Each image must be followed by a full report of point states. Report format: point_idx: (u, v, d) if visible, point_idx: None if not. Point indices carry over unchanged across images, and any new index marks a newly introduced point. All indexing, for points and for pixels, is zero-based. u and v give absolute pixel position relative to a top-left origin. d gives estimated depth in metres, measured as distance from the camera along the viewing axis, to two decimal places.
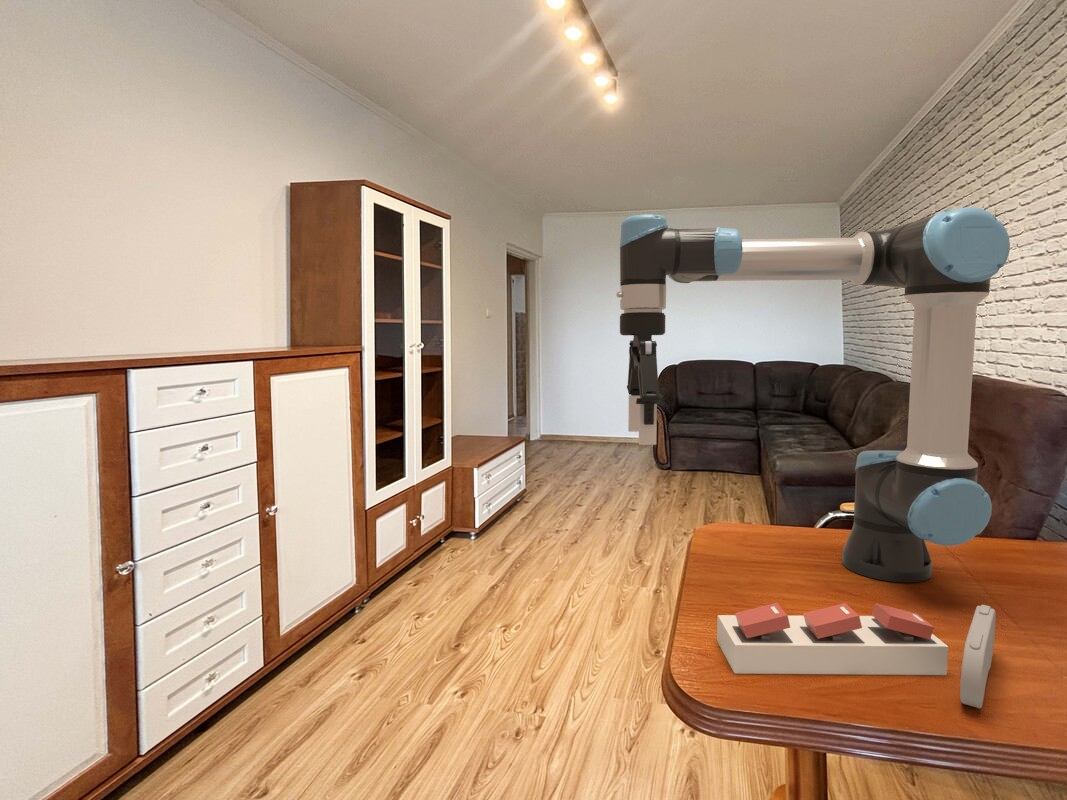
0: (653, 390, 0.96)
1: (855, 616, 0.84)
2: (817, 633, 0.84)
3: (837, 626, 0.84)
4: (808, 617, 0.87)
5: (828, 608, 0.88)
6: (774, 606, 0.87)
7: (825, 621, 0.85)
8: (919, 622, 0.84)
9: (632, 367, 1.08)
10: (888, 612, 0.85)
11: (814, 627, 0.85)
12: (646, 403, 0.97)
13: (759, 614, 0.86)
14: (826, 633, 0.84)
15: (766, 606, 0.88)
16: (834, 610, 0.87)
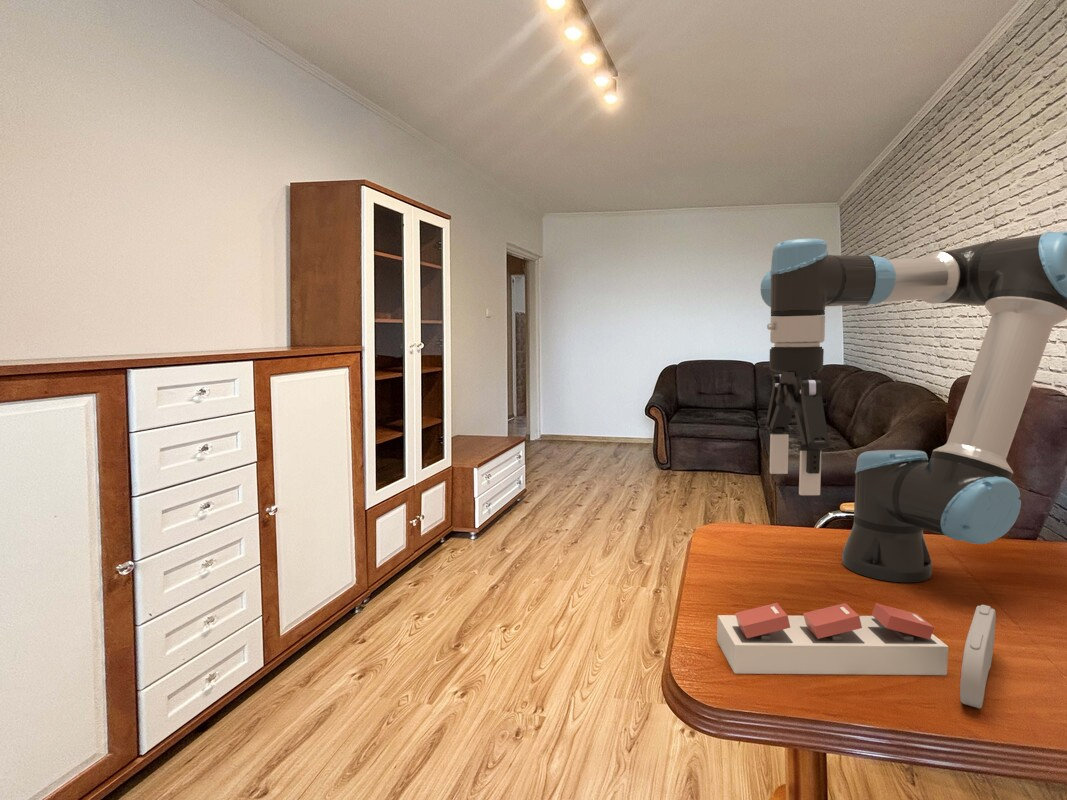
0: (822, 436, 0.86)
1: (855, 616, 0.84)
2: (817, 633, 0.84)
3: (837, 626, 0.84)
4: (808, 617, 0.87)
5: (828, 608, 0.88)
6: (774, 606, 0.87)
7: (825, 621, 0.85)
8: (919, 622, 0.84)
9: (780, 405, 0.98)
10: (888, 612, 0.85)
11: (814, 627, 0.85)
12: (812, 450, 0.87)
13: (759, 614, 0.86)
14: (826, 633, 0.84)
15: (766, 606, 0.88)
16: (834, 610, 0.87)
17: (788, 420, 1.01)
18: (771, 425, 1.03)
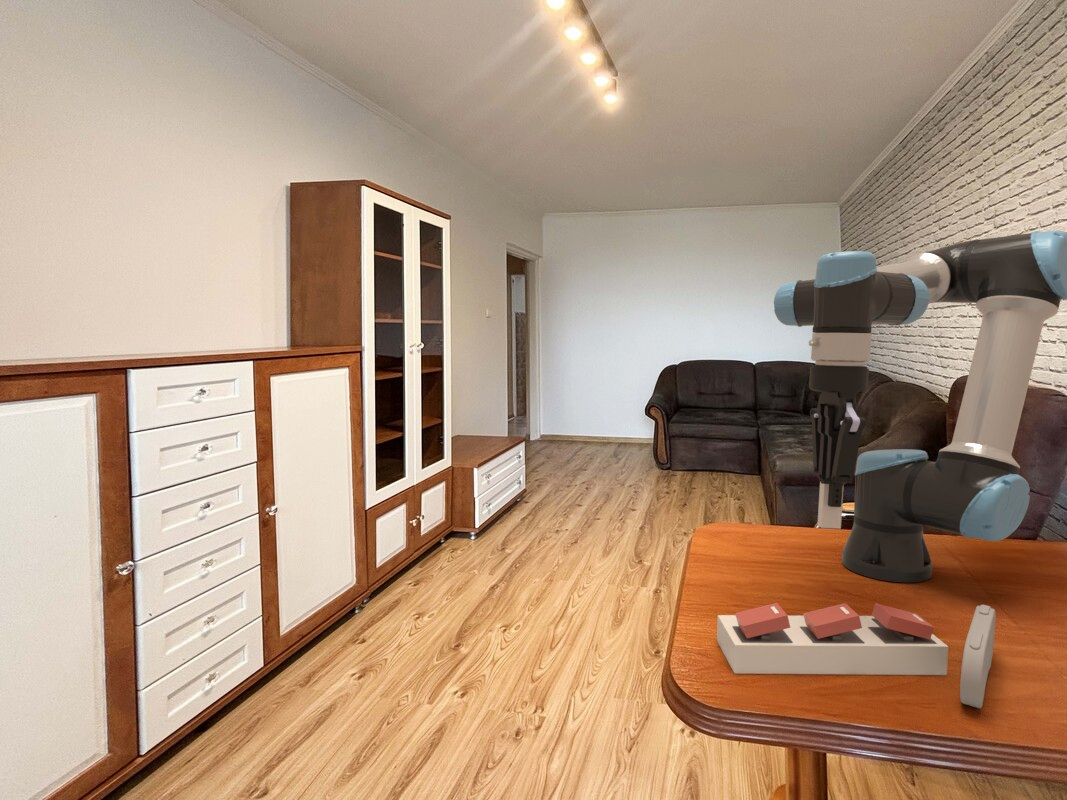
0: (847, 474, 0.86)
1: (855, 616, 0.84)
2: (817, 633, 0.84)
3: (837, 626, 0.84)
4: (808, 617, 0.87)
5: (828, 608, 0.88)
6: (774, 606, 0.87)
7: (825, 621, 0.85)
8: (919, 622, 0.84)
9: (824, 432, 0.90)
10: (888, 612, 0.85)
11: (814, 627, 0.85)
12: (834, 484, 0.88)
13: (759, 614, 0.86)
14: (826, 633, 0.84)
15: (766, 606, 0.88)
16: (834, 610, 0.87)
17: None
18: (820, 469, 0.91)
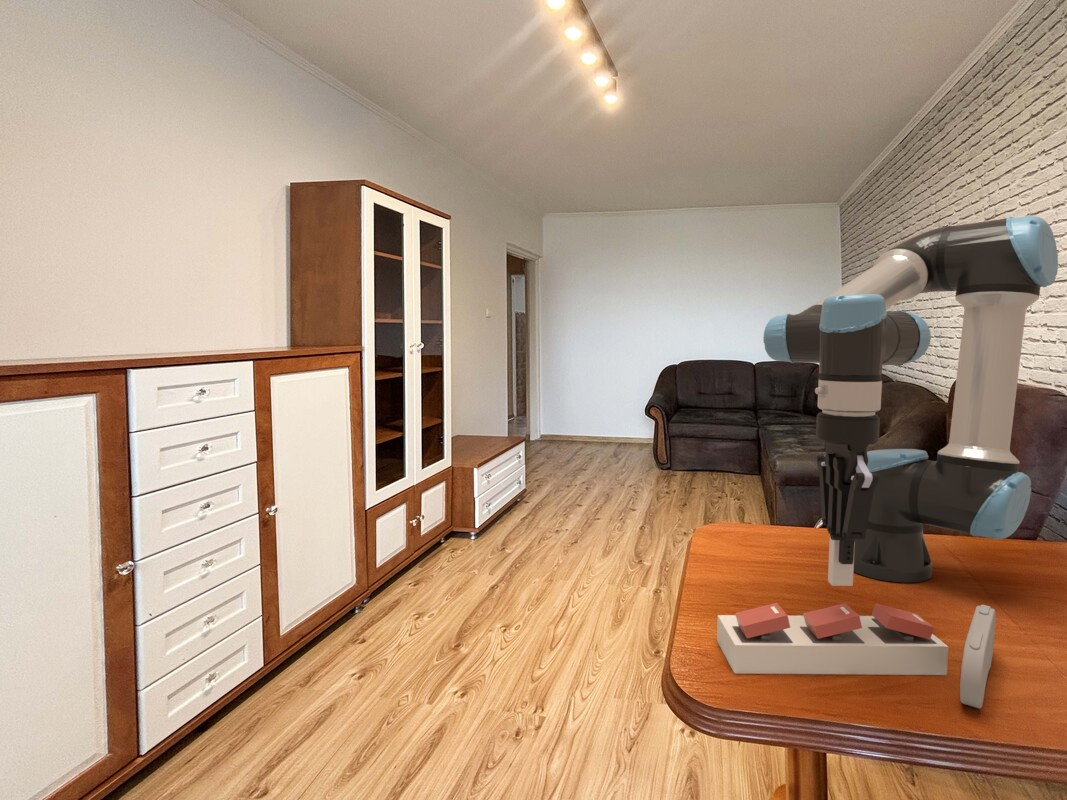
0: (859, 531, 0.81)
1: (855, 616, 0.84)
2: (817, 633, 0.84)
3: (837, 626, 0.84)
4: (808, 617, 0.87)
5: (828, 608, 0.88)
6: (774, 606, 0.87)
7: (825, 621, 0.85)
8: (919, 622, 0.84)
9: (833, 484, 0.85)
10: (888, 612, 0.85)
11: (814, 627, 0.85)
12: (846, 540, 0.83)
13: (759, 614, 0.86)
14: (826, 633, 0.84)
15: (766, 606, 0.88)
16: (834, 610, 0.87)
17: None
18: (829, 522, 0.86)
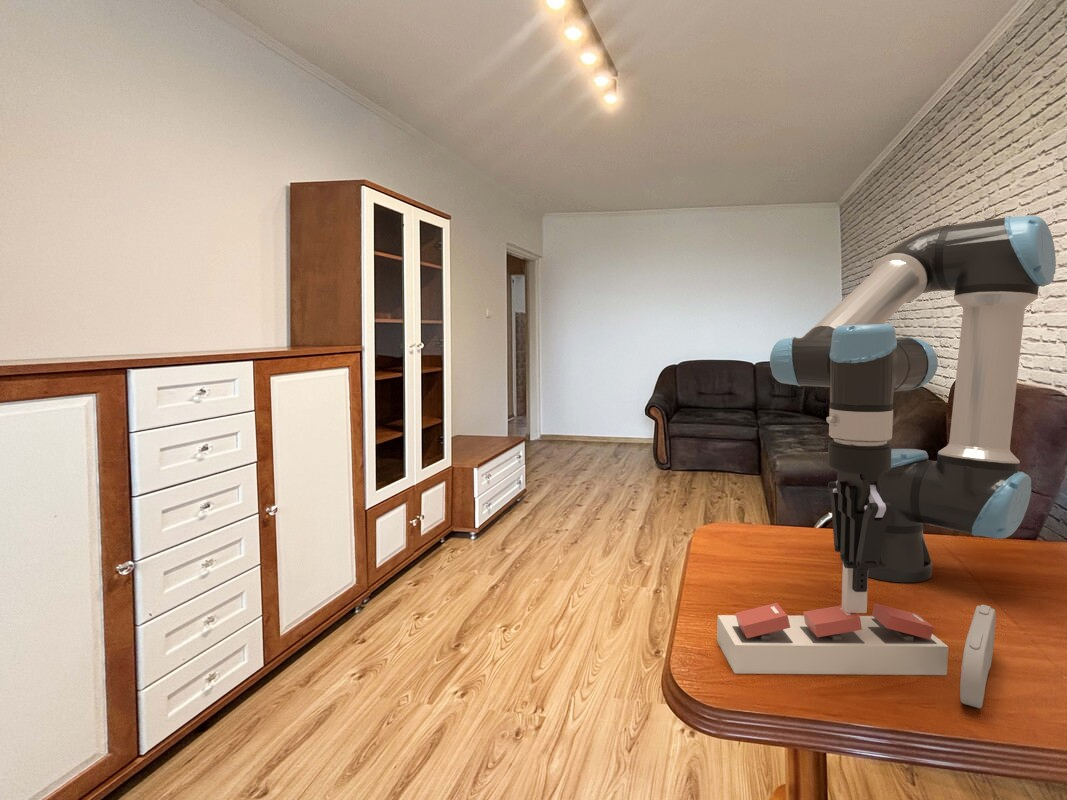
0: (873, 560, 0.81)
1: (856, 617, 0.84)
2: (816, 631, 0.84)
3: (837, 626, 0.84)
4: (808, 615, 0.87)
5: (829, 608, 0.88)
6: (774, 606, 0.87)
7: (826, 620, 0.85)
8: (919, 622, 0.84)
9: (845, 511, 0.85)
10: (888, 612, 0.85)
11: (814, 625, 0.85)
12: (859, 568, 0.83)
13: (759, 614, 0.86)
14: (826, 632, 0.84)
15: (766, 606, 0.88)
16: (835, 610, 0.87)
17: None
18: (842, 549, 0.86)
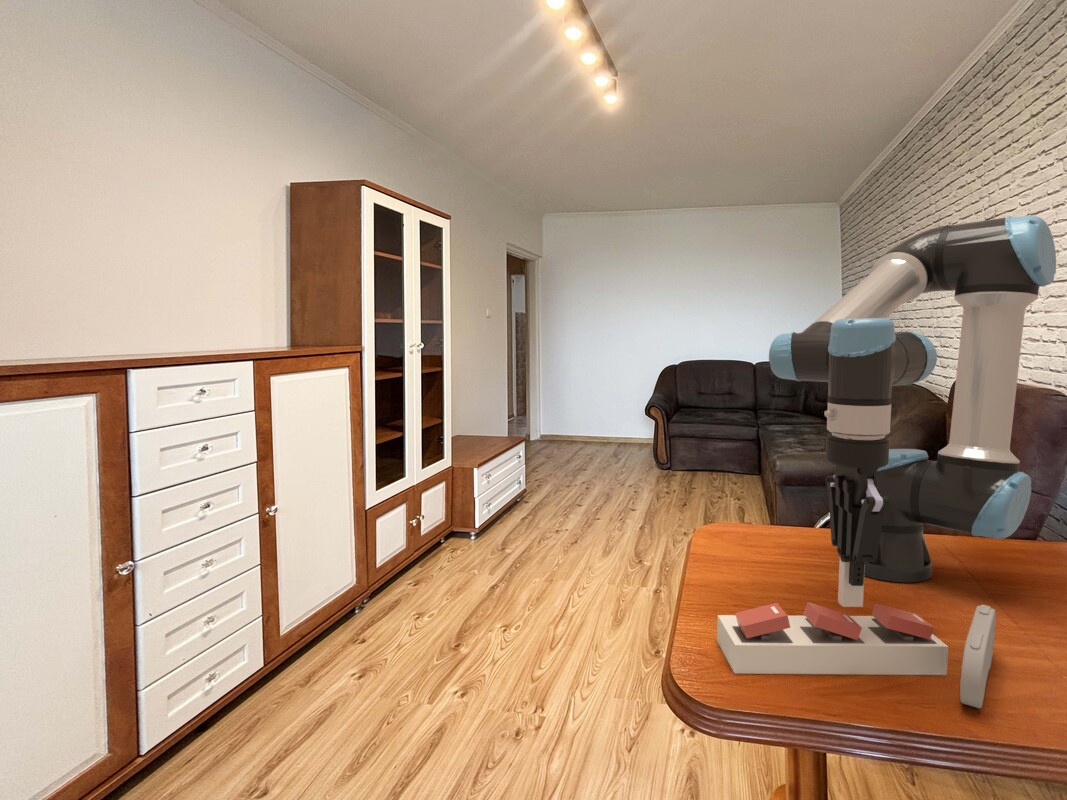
0: (870, 554, 0.81)
1: (858, 626, 0.84)
2: (817, 621, 0.84)
3: (838, 626, 0.84)
4: (812, 606, 0.87)
5: (832, 610, 0.88)
6: (774, 606, 0.87)
7: (830, 616, 0.84)
8: (919, 622, 0.84)
9: (842, 505, 0.85)
10: (888, 612, 0.85)
11: (817, 615, 0.84)
12: (856, 562, 0.83)
13: (759, 614, 0.86)
14: (825, 626, 0.84)
15: (766, 606, 0.88)
16: (838, 614, 0.87)
17: None
18: (839, 543, 0.86)
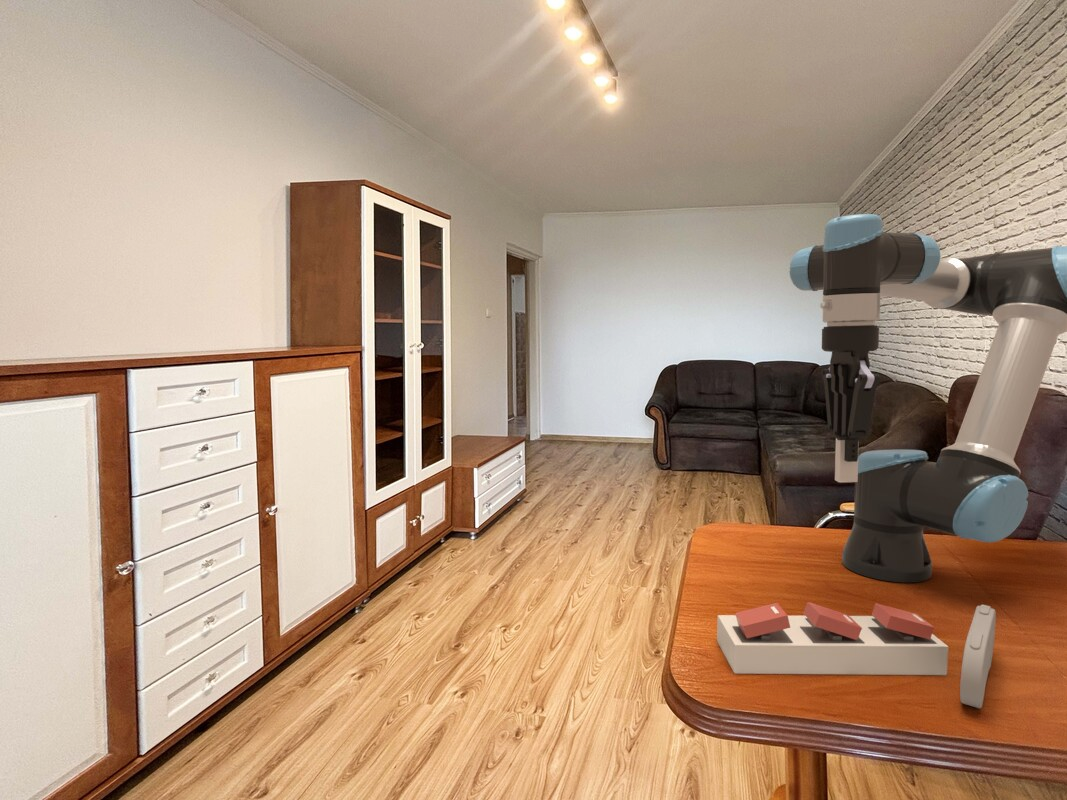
0: (863, 429, 0.90)
1: (858, 627, 0.84)
2: (817, 621, 0.84)
3: (838, 626, 0.84)
4: (813, 606, 0.87)
5: (832, 610, 0.88)
6: (774, 606, 0.87)
7: (830, 616, 0.84)
8: (919, 622, 0.84)
9: (838, 390, 0.94)
10: (888, 612, 0.85)
11: (817, 615, 0.84)
12: (851, 439, 0.92)
13: (759, 614, 0.86)
14: (825, 626, 0.84)
15: (766, 606, 0.88)
16: (838, 614, 0.87)
17: None
18: (835, 426, 0.95)
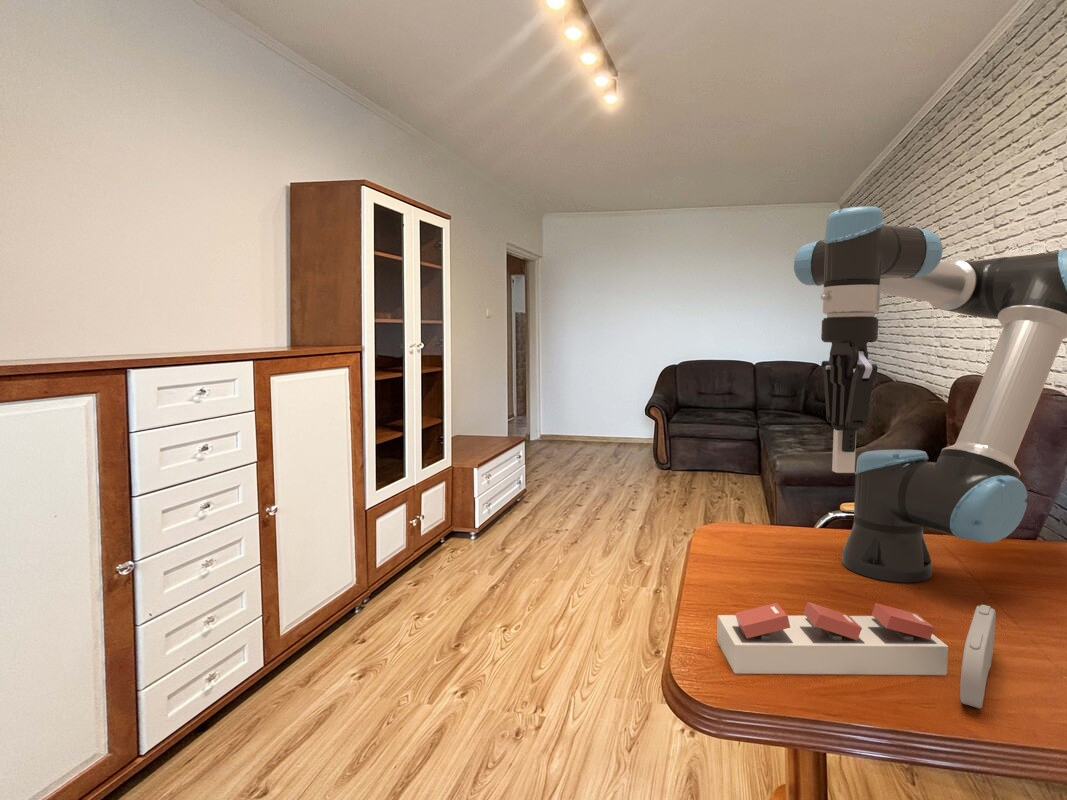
0: (860, 419, 0.91)
1: (858, 627, 0.84)
2: (817, 621, 0.84)
3: (838, 626, 0.84)
4: (813, 606, 0.87)
5: (832, 610, 0.88)
6: (774, 606, 0.87)
7: (830, 616, 0.84)
8: (919, 622, 0.84)
9: (836, 381, 0.95)
10: (888, 612, 0.85)
11: (817, 615, 0.84)
12: (848, 430, 0.93)
13: (759, 614, 0.86)
14: (825, 626, 0.84)
15: (766, 606, 0.88)
16: (838, 614, 0.87)
17: None
18: (833, 417, 0.96)
